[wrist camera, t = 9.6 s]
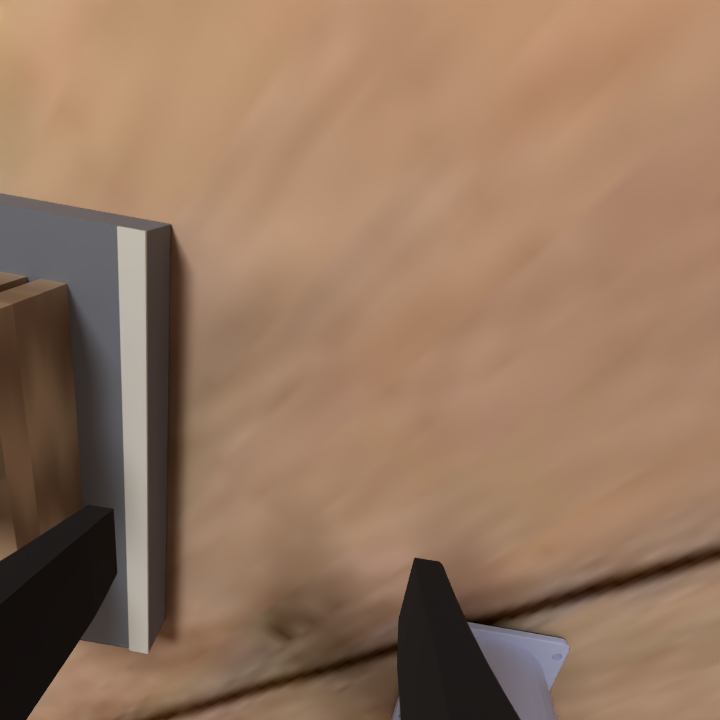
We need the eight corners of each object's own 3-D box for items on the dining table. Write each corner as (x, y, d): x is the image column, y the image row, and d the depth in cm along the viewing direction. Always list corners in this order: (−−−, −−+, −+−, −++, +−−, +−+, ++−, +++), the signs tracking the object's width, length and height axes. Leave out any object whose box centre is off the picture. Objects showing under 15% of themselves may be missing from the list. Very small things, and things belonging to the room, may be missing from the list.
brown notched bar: (90, 608, 24) (37, 687, 21) (12, 594, 24) (-55, 672, 21) (67, 283, 18) (-18, 315, 14) (-40, 264, 18) (-153, 291, 14)
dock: (165, 618, 27) (148, 653, 25) (-10, 588, 27) (-41, 621, 25) (170, 224, 19) (145, 231, 17) (-84, 178, 19) (-139, 180, 17)
